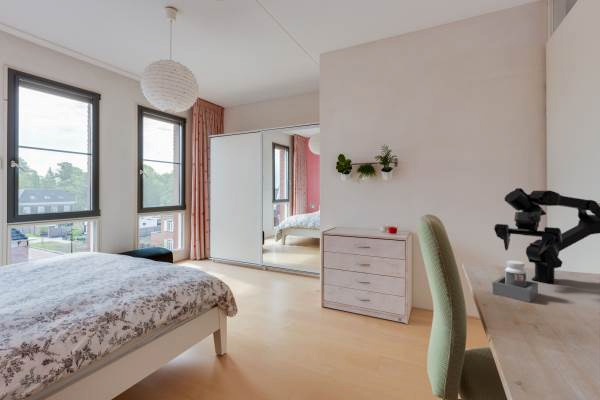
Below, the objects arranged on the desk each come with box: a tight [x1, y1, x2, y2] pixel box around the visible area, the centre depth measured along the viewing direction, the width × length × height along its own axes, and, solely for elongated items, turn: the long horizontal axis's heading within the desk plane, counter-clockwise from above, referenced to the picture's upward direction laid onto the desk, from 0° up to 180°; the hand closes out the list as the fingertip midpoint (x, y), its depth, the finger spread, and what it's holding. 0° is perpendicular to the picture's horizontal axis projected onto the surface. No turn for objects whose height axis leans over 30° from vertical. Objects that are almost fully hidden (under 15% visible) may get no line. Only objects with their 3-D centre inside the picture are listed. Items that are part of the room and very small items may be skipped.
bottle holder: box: [492, 275, 539, 303], centre depth 95 cm, size 10×10×4 cm
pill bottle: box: [504, 260, 527, 288], centre depth 95 cm, size 6×6×10 cm
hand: (521, 251), depth 98 cm, fingers open, 9 cm apart
